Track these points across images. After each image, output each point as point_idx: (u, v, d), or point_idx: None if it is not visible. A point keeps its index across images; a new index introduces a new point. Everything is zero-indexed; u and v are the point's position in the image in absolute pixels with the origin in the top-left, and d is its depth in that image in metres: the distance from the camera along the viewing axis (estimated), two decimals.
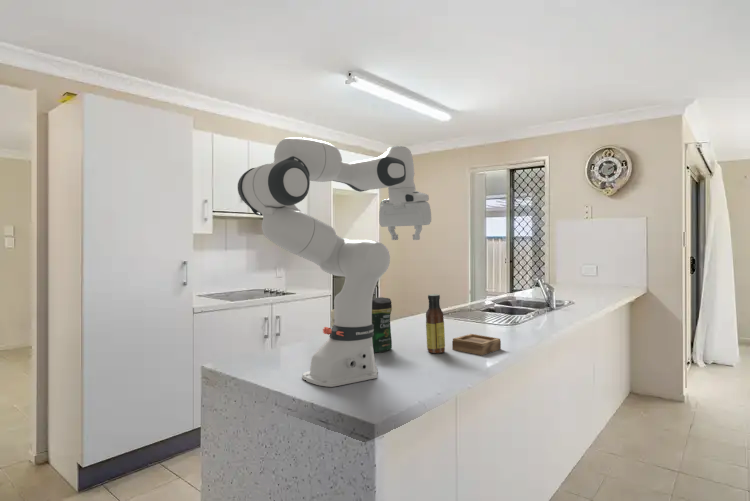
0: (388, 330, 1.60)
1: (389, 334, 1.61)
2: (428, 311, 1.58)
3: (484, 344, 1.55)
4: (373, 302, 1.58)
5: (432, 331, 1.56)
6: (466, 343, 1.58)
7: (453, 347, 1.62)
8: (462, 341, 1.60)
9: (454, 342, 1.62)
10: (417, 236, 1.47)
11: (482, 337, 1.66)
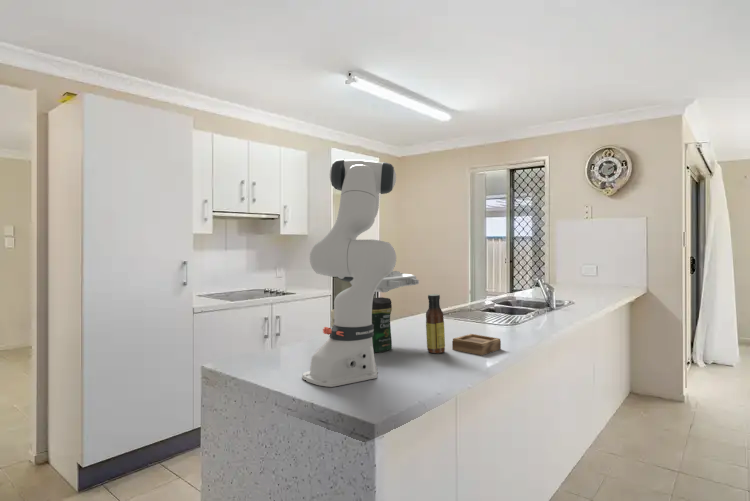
0: (388, 330, 1.60)
1: (389, 334, 1.61)
2: (428, 311, 1.58)
3: (484, 344, 1.55)
4: (373, 302, 1.58)
5: (432, 331, 1.56)
6: (466, 343, 1.58)
7: (453, 347, 1.62)
8: (462, 341, 1.60)
9: (454, 342, 1.62)
10: None
11: (482, 337, 1.66)
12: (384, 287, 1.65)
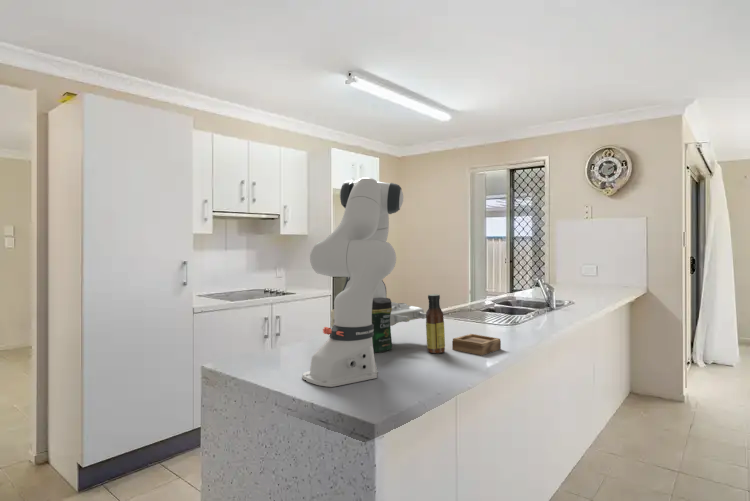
0: (388, 330, 1.60)
1: (389, 334, 1.61)
2: (428, 311, 1.58)
3: (484, 344, 1.55)
4: (373, 302, 1.58)
5: (432, 331, 1.56)
6: (466, 343, 1.58)
7: (453, 347, 1.62)
8: (462, 341, 1.60)
9: (454, 342, 1.62)
10: None
11: (482, 337, 1.66)
12: (392, 322, 1.63)
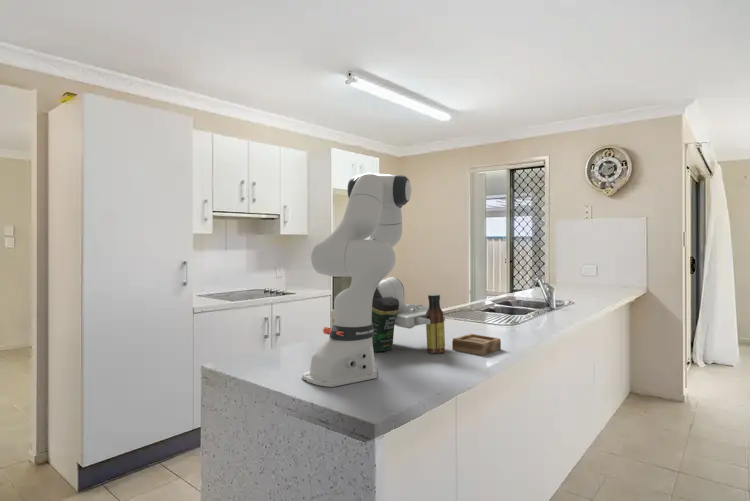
0: (391, 331, 1.59)
1: (392, 335, 1.60)
2: (428, 311, 1.58)
3: (484, 344, 1.55)
4: (381, 303, 1.55)
5: (432, 330, 1.56)
6: (466, 343, 1.58)
7: (453, 347, 1.62)
8: (462, 341, 1.60)
9: (454, 342, 1.62)
10: None
11: (482, 337, 1.66)
12: (411, 325, 1.56)
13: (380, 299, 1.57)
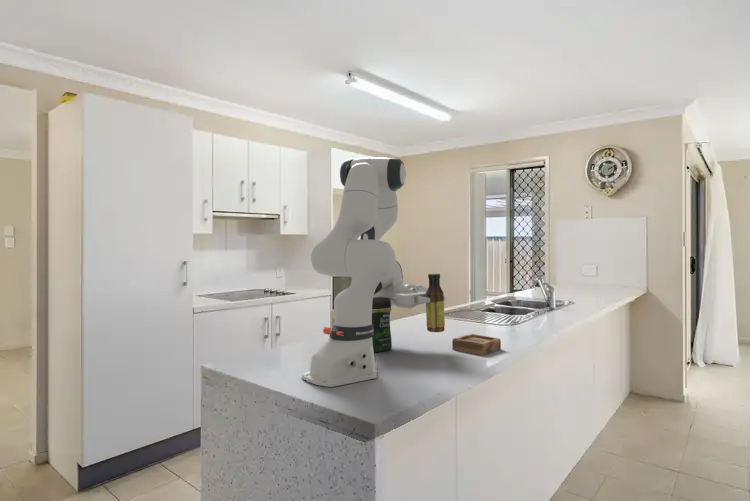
0: (388, 329, 1.60)
1: (389, 333, 1.61)
2: (428, 290, 1.58)
3: (484, 344, 1.55)
4: (372, 301, 1.58)
5: (432, 309, 1.56)
6: (466, 343, 1.58)
7: (453, 347, 1.62)
8: (462, 341, 1.60)
9: (454, 342, 1.62)
10: None
11: (482, 337, 1.66)
12: (411, 303, 1.56)
13: None
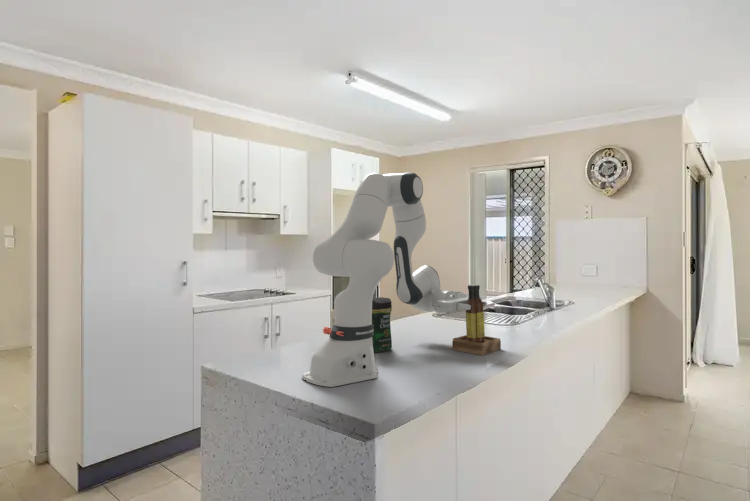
0: (388, 330, 1.60)
1: (389, 334, 1.61)
2: (468, 301, 1.61)
3: (484, 344, 1.55)
4: (373, 302, 1.58)
5: (472, 320, 1.59)
6: (466, 343, 1.58)
7: (453, 347, 1.62)
8: (462, 341, 1.60)
9: (454, 342, 1.62)
10: None
11: None
12: (453, 310, 1.59)
13: None
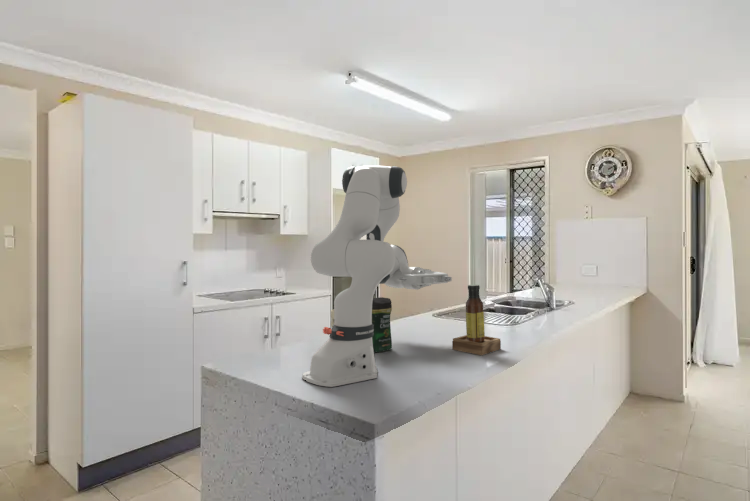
0: (388, 330, 1.60)
1: (389, 334, 1.61)
2: (468, 301, 1.61)
3: (484, 344, 1.55)
4: (373, 302, 1.58)
5: (472, 320, 1.59)
6: (466, 343, 1.58)
7: (453, 347, 1.62)
8: (462, 341, 1.60)
9: (454, 342, 1.62)
10: None
11: None
12: (419, 283, 1.68)
13: None
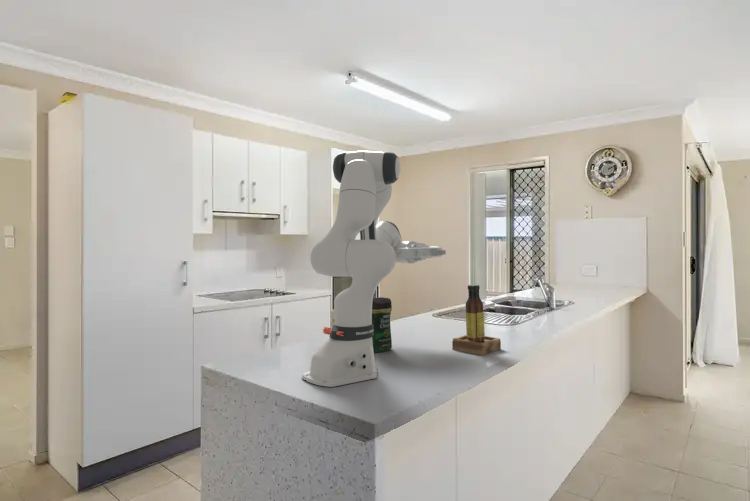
0: (388, 330, 1.60)
1: (389, 334, 1.61)
2: (468, 301, 1.61)
3: (484, 344, 1.55)
4: (373, 302, 1.58)
5: (472, 320, 1.59)
6: (466, 343, 1.58)
7: (453, 347, 1.62)
8: (462, 341, 1.60)
9: (454, 342, 1.62)
10: None
11: None
12: (413, 256, 1.68)
13: None
